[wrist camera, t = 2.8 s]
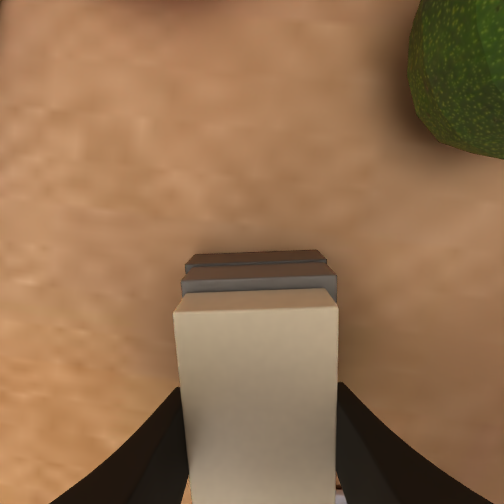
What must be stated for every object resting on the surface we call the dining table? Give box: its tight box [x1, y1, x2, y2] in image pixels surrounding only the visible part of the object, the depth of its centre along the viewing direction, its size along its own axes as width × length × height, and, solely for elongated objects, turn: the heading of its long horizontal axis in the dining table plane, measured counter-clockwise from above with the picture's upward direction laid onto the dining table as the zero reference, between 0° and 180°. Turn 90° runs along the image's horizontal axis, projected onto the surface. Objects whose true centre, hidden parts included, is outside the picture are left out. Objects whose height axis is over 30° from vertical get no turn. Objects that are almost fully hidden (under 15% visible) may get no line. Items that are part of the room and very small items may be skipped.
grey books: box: [181, 250, 337, 304], centre depth 14 cm, size 10×6×4 cm, turn 2°
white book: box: [173, 288, 339, 504], centre depth 11 cm, size 9×5×2 cm, turn 2°
